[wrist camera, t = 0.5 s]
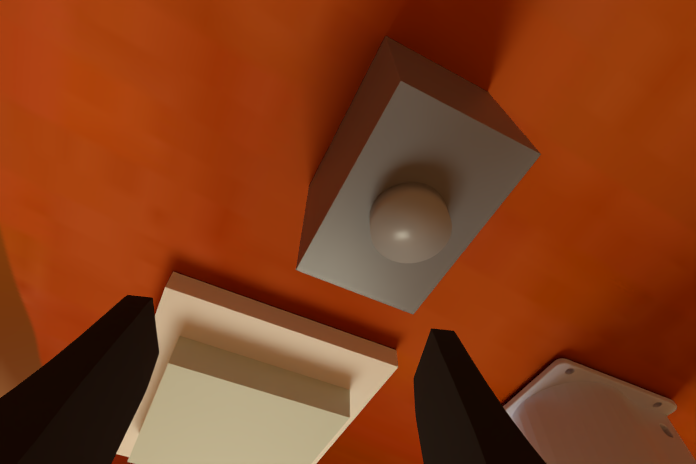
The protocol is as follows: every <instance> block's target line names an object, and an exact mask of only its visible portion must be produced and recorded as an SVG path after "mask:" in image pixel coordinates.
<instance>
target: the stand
mask: <svg viewBox="0 0 696 464" xmlns="http://www.w3.org/2000/svg"><path fill="white" fill-rule="evenodd" d="M155 322H156V330H157V338H158V346H159V356H158V359H157V362H156V365H155V368H154V371H153V374H152V376H151V379H150V382H149V385H148V388H147V390H146V393H145V395H144V397H143V399H142V401H141V403H140V405H139V407H138V410H137V412H136V414H135V416H134V418H133V420H132V422H131V424H130V426H129V428H128V430H127V432H126V434H125V436H124V438H123V441H122V443H121V445H120V447H119V449H118V451H117V453H116V454H119V455H123V456H127V457H129V459H128V462H131V463H135V464H316V463H317V462H318V461H319V460H320V458H321V457H322V456H323V455H324V454H325V453H326V451H327V450H328V449H329V448H330V447H331V446H332V444H333V443H334V442H335V441H336V440H337V438H338V437H339V436H340V435H341V434H342V433H343V431H344V430H345V429H346V428H347V427H348V425H349V424H350V423H351V422H352V421H353V420H354V418H355V417H356V416H357V415H358V414H359V413H360V411H361V410H362V409H363V408H364V407H365V405H366V404H367V403H368V402H369V401H370V400H371V398H372V397H373V396H374V395H375V394H376V392H377V391H378V390H379V389H380V388H381V387H382V385H383V384H384V383H385V382H386V381H387V380H388V378H389V377H390V376H391V375H392V374H393V372H394V371H395V370H396V369H397V368H398V361H397V352H396V350H395V349H392V348H389V347H386V346H383V345H380V344H378V343H375V342H372V341H369V340H366V339H363V338H361V337H358V336H355V335H352V334H349V333H346V332H344V331H341V330H338V329H335V328H332V327H329V326H326V325H324V324H321V323H318V322H315V321H312V320H309V319H307V318H304V317H301V316H298V315H295V314H292V313H290V312H287V311H284V310H281V309H278V308H275V307H273V306H270V305H267V304H264V303H261V302H258V301H256V300H253V299H250V298H247V297H244V296H241V295H239V294H236V293H233V292H230V291H227V290H224V289H222V288H219V287H216V286H213V285H210V284H207V283H205V282H202V281H199V280H196V279H193V278H190V277H188V276H185V275H182V274H179V273H176V272H173V273H172V275H171V277H170V279H169V280H168V282H167V284H166V286H165V289H164V292H163V294H162V297H161V300H160V303H159V306H158V308H157V311H156V314H155Z"/></svg>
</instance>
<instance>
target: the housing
mask: <svg viewBox="0 0 696 464" xmlns="http://www.w3.org/2000/svg"><path fill="white" fill-rule="evenodd" d="M540 155H541V154H540V153H539V151H538V150H537V149H536V148H535V147H534V145H533V144H532V143H531V142H530V141H529V140H528V138H527V137H526V136H525V135H524V134H523V133H522V131H521V130H520V129H519V128H518V127H517V126H516V124H515V123H514V122H513V121H512V120H511V118H510V117H509V116H508V115H507V114H506V113H505V111H504V110H503V109H502V108H501V107H500V106H499V104H498V103H497V102H496V101H495V100H494V99H493V97H492V96H491V95H490V94H489V93H488V92H487V91H485V90H484V89H482V88H480V87H478V86H476V85H475V84H473V83H471V82H469V81H467V80H465V79H464V78H462V77H460V76H458V75H456V74H454V73H453V72H451V71H449V70H447V69H445V68H444V67H442V66H440V65H438V64H436V63H434V62H433V61H431V60H429V59H427V58H425V57H423V56H422V55H420V54H418V53H416V52H414V51H412V50H411V49H409V48H407V47H405V46H403V45H402V44H400V43H398V42H396V41H394V40H392V39H391V38H389V37H387V36H385V38H384V40H383V42H382V44H381V46H380V48H379V50H378V52H377V53H376V55H375V57H374V59H373V61H372V63H371V65H370V67H369V69H368V71H367V73H366V75H365V77H364V79H363V81H362V83H361V85H360V87H359V89H358V91H357V93H356V95H355V97H354V99H353V101H352V103H351V105H350V107H349V109H348V111H347V113H346V115H345V116H344V118H343V120H342V122H341V124H340V126H339V128H338V130H337V132H336V134H335V136H334V138H333V140H332V142H331V144H330V146H329V148H328V150H327V152H326V154H325V156H324V158H323V160H322V162H321V164H320V166H319V168H318V170H317V172H316V174H315V176H314V178H313V179H312V181H311V183H310V185H309V190H308V196H307V202H306V209H305V215H304V221H303V228H302V234H301V241H300V247H299V253H298V260H297V266H296V270H298V271H300V272H303V273H306V274H308V275H311V276H313V277H316V278H319V279H321V280H324V281H327V282H329V283H332V284H335V285H337V286H340V287H342V288H345V289H348V290H350V291H353V292H356V293H358V294H361V295H364V296H366V297H369V298H371V299H374V300H377V301H379V302H382V303H385V304H387V305H390V306H393V307H395V308H398V309H400V310H403V311H406V312H408V313H411V314H414V313H415V312H416V310H417V309H418V308H419V306H420V305H421V304H422V303H423V301H424V300H425V299H426V298H427V296H428V295H429V294H430V293H431V291H432V290H433V289H434V288H435V286H436V285H437V284H438V283H439V281H440V280H441V279H442V278H443V276H444V275H445V274H446V273H447V271H448V270H449V269H450V268H451V266H452V265H453V264H454V263H455V261H456V260H457V259H458V258H459V256H460V255H461V254H462V253H463V251H464V250H465V249H466V248H467V246H468V245H469V244H470V243H471V241H472V240H473V239H474V238H475V236H476V235H477V234H478V233H479V231H480V230H481V229H482V228H483V226H484V225H485V224H486V223H487V221H488V220H489V219H490V218H491V216H492V215H493V214H494V213H495V211H496V210H497V209H498V207H499V206H500V205H501V204H502V202H503V201H504V200H505V199H506V197H507V196H508V195H509V194H510V192H511V191H512V190H513V189H514V187H515V186H516V185H517V184H518V182H519V181H520V180H521V179H522V177H523V176H524V175H525V174H526V172H527V171H528V170H529V169H530V167H531V166H532V165H533V164H534V162H535V161H536V160H537V159H538V157H539V156H540Z"/></svg>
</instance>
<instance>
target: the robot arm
mask: <svg viewBox="0 0 696 464" xmlns="http://www.w3.org/2000/svg"><path fill="white" fill-rule="evenodd" d="M158 356H159V346H158V338H157V330H156V322H155V314H154V306H153V298H150V297H141V296H132V295H127V296H126V297H124V298H123V299H122V300H121V301H120V302H118V303H117V304H116V305H115V306H114V307H113V308H112V309H110V310H109V311H108V312H107V313H106V314H105V315H104V316H102V317H101V318H100V319H99V320H98V321H97V322H96V323H94V324H93V325H92V326H91V327H90V328H89V329H87V330H86V331H85V332H84V333H83V334H82V335H81V336H79V337H78V338H77V339H76V340H74V341H73V342H72V343H71V344H70V345H68V346H67V347H66V348H65V349H64V350H62V351H61V352H60V353H59V354H58V355H56V356H55V357H54V358H53V359H51V360H50V361H49V362H48V363H46V364H45V365H44V366H42V367H41V368H40V369H39V370H37V371H36V372H35V373H33V374H32V375H31V376H29V377H28V378H27V379H25V380H24V381H23V382H21V383H20V384H19V385H18V386H16V387H15V388H14V389H12V390H11V391H9V392H8V393H7V394H5V395H4V396H2V397H1V398H0V464H111V463H112V461H113V459H114V457H115V455H116V453H117V451H118V449H119V447H120V445H121V443H122V441H123V438H124V436H125V434H126V432H127V430H128V428H129V426H130V424H131V422H132V420H133V418H134V416H135V414H136V412H137V410H138V407H139V405H140V403H141V401H142V399H143V397H144V395H145V393H146V390H147V388H148V385H149V382H150V379H151V376H152V374H153V371H154V368H155V365H156V362H157V359H158ZM414 397H415V412H416V421H417V427H418V433H419V439H420V445H421V450H422V456H423V462H424V464H696V460H695V459H694V457H693V456H692V454H691V453H690V451H689V450H688V448H687V447H686V445H685V444H684V442H683V441H682V439H681V437H680V436H679V434H678V433H677V431H676V430H675V428H674V427H673V425H672V424H671V422H670V421H669V419H668V418H667V416H668V415H669V414H671V413H672V412H674V411H675V410H676V409H677V405H676V404H675V402H674V401H673V400H671V399H668V398H666V397H663V396H661V395H658V394H655V393H653V392H650V391H648V390H645V389H643V388H640V387H637V386H635V385H632V384H630V383H627V382H625V381H622V380H619V379H617V378H614V377H612V376H609V375H607V374H604V373H601V372H599V371H596V370H594V369H591V368H589V367H586V366H583V365H581V364H578V363H576V362H573V361H571V360H568V359H564V358H560V359H557V360H555V361H554V362H553V363H552V364H551V365H549V366H548V367H547V368H546V369H545V370H544V371H543V372H542V373H540V374H539V375H538V376H537V377H536V378H535V379H534V380H532V381H531V382H530V383H529V384H528V385H527V386H526V387H525V388H523V389H522V390H521V391H520V392H519V393H518V394H517V395H515V396H514V397H513V398H512V399H511V400H510V401H509V402H508V403H506V404H505V405H504V406H502V405H501V403H500V402H499V400H498V399H497V397H496V396H495V394H494V393H493V391H492V390H491V388H490V387H489V386H488V384H487V382H486V381H485V379H484V378H483V376H482V375H481V373H480V372H479V370H478V369H477V367H476V365H475V364H474V362H473V361H472V359H471V357H470V356H469V354H468V353H467V351H466V349H465V348H464V346H463V344H462V343H461V341H460V339H459V338H458V336H457V335H456V333H455V332H454V331H449V330H440V329H431V331H430V334H429V337H428V339H427V342H426V345H425V348H424V351H423V353H422V356H421V359H420V362H419V365H418V368H417V370H416V373H415V376H414Z"/></svg>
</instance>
